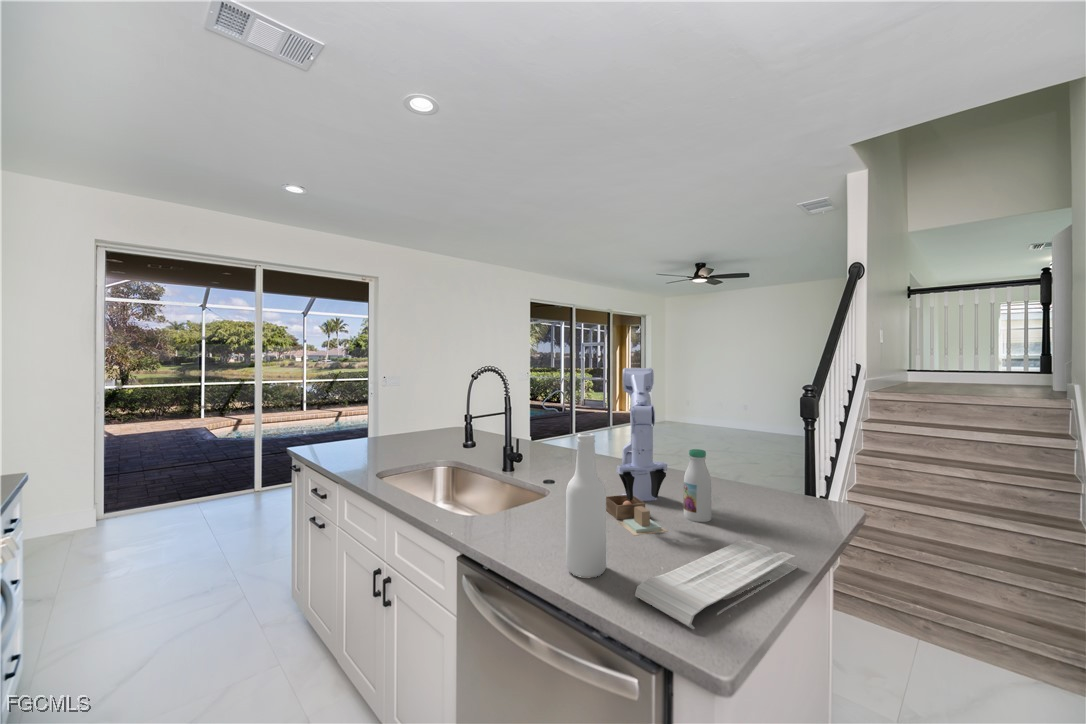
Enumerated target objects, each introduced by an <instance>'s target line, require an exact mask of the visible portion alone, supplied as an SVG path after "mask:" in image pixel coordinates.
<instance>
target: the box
mask: <svg viewBox="0 0 1086 724" xmlns="http://www.w3.org/2000/svg"><path fill="white" fill-rule="evenodd" d="M625 501H630V502H631V503H632V504H628V505H623V503H624V502H625ZM637 506H643V507H644V508H646V502H645V501H641V500H639V499H638V498H636V497H635V496H633V500H629V499H628V498H627V495H622V494H620V495H609V496H607V495H606V513H608V514H609V515H610V516H612V518H614V519H615V520H616V521H620V520H622V521H623V520H627V519H634V507H637Z"/></svg>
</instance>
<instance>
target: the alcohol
mask: <svg viewBox="0 0 1086 724" xmlns="http://www.w3.org/2000/svg"><path fill="white" fill-rule="evenodd" d="M576 437H577V440H576V442H577V446H576V447H577V448H576V449H577V450H576V461H575V462H576V463H575V470H574V471H575V472H574V474H573V477H572V478H570V480H569V481H568V483H567V486H566V490H565V494H566V495H565V567H566V569H567V570H568V572H569V571H570V572H571V573H572V574H574V575H577V576H581V577H595V578H598V577H600V576H602V575H603V574H604V572H605V570H606V569H607V511H606V497H607V490H606V486H605V484H604V482H603V481H602V480H601V477H599V475H598V471H597V458H596V446H595V445H596V444H595V443H596V435H595V434H594V433H590V432H589V433H588V432H582V433H581V432H580V433H578V434H577V435H576ZM570 572H569V573H570ZM571 573H570V574H571ZM572 574H571V575H572ZM601 574H602V575H601ZM574 575H573V576H574ZM597 576H598V577H597Z"/></svg>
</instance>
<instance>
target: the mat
mask: <svg viewBox="0 0 1086 724" xmlns="http://www.w3.org/2000/svg"><path fill="white" fill-rule="evenodd" d="M618 523H619V525H621V526H622V527H623V528H625V530H627V531H628V532H629V533H631V534H632V535H633V536H641V535H648V534H649V535H650V534H657V533H667V532H668V530H667V529H666V528H664V527H662V526H661V525H660V524H658V523H657V522H655V523H656V524H658V525H659V526H661V530H656V531H647V532H638V533H636V532H634V531H633V530H632V529H631V528H629V527H628V526H627V525H626V524H624V523H623V520H622V521H618Z"/></svg>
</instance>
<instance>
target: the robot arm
mask: <svg viewBox="0 0 1086 724" xmlns="http://www.w3.org/2000/svg"><path fill="white" fill-rule="evenodd" d="M654 377H655V376H654V368H652V367H649V368H648V367H647V368H645V367H640V368H639V367H637V368H636V367H629V368H628V367H624V368H623V369H622V390H623V392H625V393H627V394H628V395H629V398H630V409H629V411H630V412H629V414H630V416H629V417H630V419H629V421H630V422H629V423H630V441H629V442H628V443H627V444H624V446H623V448H622V455H621V456H622V457H621V459H622V460H621V461H622V464H621V465H616V473H617V474H618V476H619V478H620V481H621V482H622V485H623V487H624V490H625V493H621V495H627V498H628V499H629V500H633V496H635V497H636V498H638V499H639V500H641V501H642V502H645V501H646V502H648V501H658V497H659V492H660V488H661V486H662V483H663V481H664V480H665V478H666V476H667V472H666V471H668V463H666V462H664V461H663V462H654V426H655V423H656V411H655V407H654V405H653V404H652V399H651V394H650V393H651V392H652V389H653V386H654V383H655V382H654Z"/></svg>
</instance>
